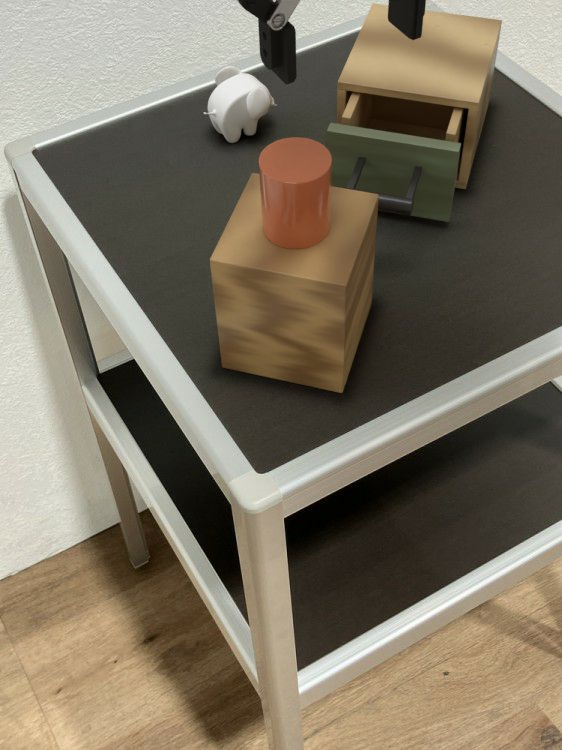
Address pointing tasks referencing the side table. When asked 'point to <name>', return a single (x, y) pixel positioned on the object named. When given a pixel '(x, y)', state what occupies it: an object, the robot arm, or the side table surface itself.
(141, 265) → the side table surface
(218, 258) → the oak stand
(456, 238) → the side table surface
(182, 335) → the side table surface
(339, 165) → the drawer
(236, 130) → the elephant figurine
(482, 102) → the cabinet
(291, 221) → the spice jar
